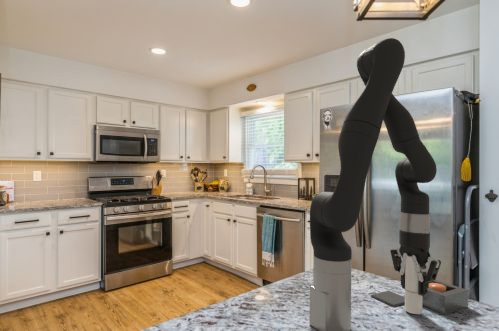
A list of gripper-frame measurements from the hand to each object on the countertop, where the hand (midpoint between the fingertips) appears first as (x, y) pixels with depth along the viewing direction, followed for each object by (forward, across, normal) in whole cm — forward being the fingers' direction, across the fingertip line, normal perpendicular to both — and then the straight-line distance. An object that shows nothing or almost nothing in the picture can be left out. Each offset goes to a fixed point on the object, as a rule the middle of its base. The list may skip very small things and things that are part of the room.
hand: (413, 291), depth 85 cm
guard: (+6, -1, +12) cm, 14 cm away
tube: (+5, 0, 0) cm, 5 cm away
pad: (+6, -9, +2) cm, 11 cm away
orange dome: (+2, -1, +12) cm, 13 cm away
